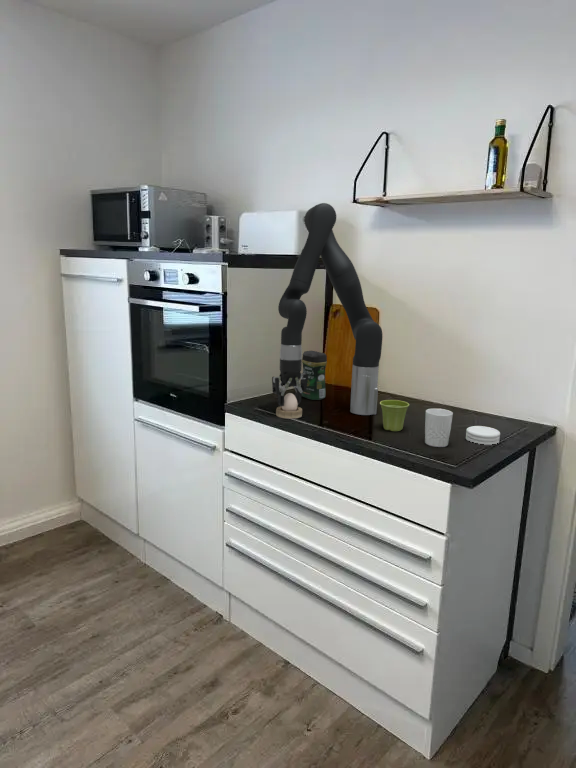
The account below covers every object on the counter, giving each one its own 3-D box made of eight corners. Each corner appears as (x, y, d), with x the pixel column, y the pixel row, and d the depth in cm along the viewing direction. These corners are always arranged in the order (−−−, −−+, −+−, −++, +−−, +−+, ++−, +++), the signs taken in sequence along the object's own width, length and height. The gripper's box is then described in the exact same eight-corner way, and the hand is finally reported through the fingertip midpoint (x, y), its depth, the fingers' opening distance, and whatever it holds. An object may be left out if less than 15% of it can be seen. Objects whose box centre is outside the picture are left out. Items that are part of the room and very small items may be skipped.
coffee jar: (297, 396, 224) (298, 350, 220) (311, 393, 229) (313, 348, 225) (314, 401, 217) (315, 354, 213) (328, 398, 222) (330, 352, 218)
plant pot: (385, 434, 179) (387, 407, 177) (373, 425, 188) (375, 400, 186) (412, 432, 182) (414, 406, 180) (399, 424, 191) (401, 399, 189)
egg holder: (302, 412, 202) (302, 406, 201) (300, 419, 193) (301, 413, 192) (277, 411, 202) (278, 405, 202) (275, 417, 194) (275, 411, 193)
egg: (300, 415, 198) (301, 393, 196) (289, 418, 194) (290, 395, 192) (288, 412, 201) (289, 390, 200) (278, 414, 198) (279, 392, 196)
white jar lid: (476, 434, 183) (477, 423, 182) (505, 441, 176) (506, 431, 175) (459, 439, 176) (460, 429, 176) (488, 448, 169) (489, 437, 168)
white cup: (418, 443, 171) (420, 411, 169) (432, 437, 177) (434, 407, 175) (441, 449, 166) (444, 417, 164) (454, 444, 171) (457, 412, 169)
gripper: (301, 354, 200) (299, 399, 204) (267, 357, 192) (266, 404, 196) (314, 357, 194) (312, 404, 198) (279, 360, 186) (278, 409, 190)
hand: (289, 404), depth 197 cm, fingers open, 6 cm apart
